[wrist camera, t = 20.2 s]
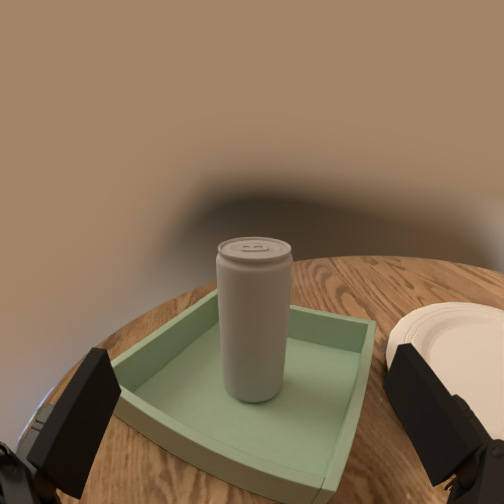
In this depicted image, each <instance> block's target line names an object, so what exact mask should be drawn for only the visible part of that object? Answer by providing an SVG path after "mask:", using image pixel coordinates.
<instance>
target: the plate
mask: <svg viewBox="0 0 504 504" xmlns="http://www.w3.org/2000/svg"><path fill="white" fill-rule="evenodd" d="M406 343H412V345H413V346H414V347H415V348H416V350H417V351H418V352H419V353H420V355H421V356H422V357H423V358H424V360H425V361H426V362H427V364H428V365H429V366H430V367H431V369H432V370H433V371H434V373H435V374H436V375H437V377H438V378H439V379H440V381H441V382H442V383H443V385H444V386H445V387H446V389H447V390H448V391H449V393H450V394H451V395H455V394H457V395H459V396H460V397H461V398H463V399H464V400H465V401H466V402H467V404H468V405H469V406H470V409H472V411H473V412H474V413H475V416H477V418H478V419H479V420H480V422H481V423H482V425H483V426H484V428H485V429H486V431H487V432H488V434H489V435H490V436H491V438H492V439H493V440H495V439H501V440H504V311H503V310H500V309H497V308H494V307H490V306H485V305H480V304H475V303H463V302H447V303H437V304H431V305H428V306H425V307H422V308H418V309H415V310H414V311H412V312H411V313H409V314H408V315H406V316H404V317H403V318H401V319H400V321H399V322H398V323H397V325H396V326H395V327H394V329H393V330H392V331H391V333H390V336H389V341H388V345H387V349H386V354H385V357H386V363H387V369H388V371H389V369H390V366H391V363H392V360H393V358H394V355H395V352H396V349H397V346H398V345H400V344H406Z"/></svg>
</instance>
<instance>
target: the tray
mask: <svg viewBox="0 0 504 504" xmlns="http://www.w3.org/2000/svg"><path fill="white" fill-rule="evenodd" d="M376 324H377V322H376V321H371V320H366V319H360V318H355V317H350V316H344V315H339V314H334V313H329V312H324V311H319V310H314V309H309V308H304V307H299V306H294V305H290V310H289V322H288V333H287V344H286V355H285V364H284V374H283V383H282V386H281V389H280V391H279V392H278V393H277V394H276V395H275V396H273V397H272V398H270V399H268V400H265V401H262V402H256V403H253V402H246V401H243V400H240V399H238V398H236V397H234V396H233V395H231V394H230V393H229V392H228V391H227V390H226V388H225V386H224V381H223V370H222V356H221V342H220V327H219V310H218V290H217V289H215V290H214V291H212V292H211V293H210V294H208V295H207V296H205V297H204V298H202V299H201V300H199V301H198V302H197V303H195V304H194V305H192V306H191V307H189V308H188V309H186V310H185V311H184V312H182V313H181V314H179V315H178V316H176V317H175V318H173V319H172V320H170V321H169V322H168V323H166V324H165V325H163V326H162V327H160V328H159V329H157V330H156V331H154V332H153V333H151V334H150V335H149V336H147V337H146V338H144V339H143V340H141V341H140V342H138V343H137V344H135V345H134V346H132V347H131V348H129V349H128V350H126V351H125V352H124V353H122V354H121V355H119V356H118V357H116V358H115V359H113V360H112V361H110V362H111V365H112V367H113V370H114V373H115V375H116V378H117V380H118V383H119V385H120V388H121V390H122V393H121V395H120V397H119V399H118V402H117V404H116V406H115V409H114V411H113V413H114V414H115V415H116V416H118V417H119V418H120V419H122V420H123V421H124V422H125V423H127V424H128V425H130V426H131V427H132V428H134V429H135V430H136V431H138V432H139V433H141V434H142V435H144V436H145V437H147V438H148V439H150V440H151V441H153V442H154V443H156V444H157V445H159V446H160V447H162V448H164V449H165V450H167V451H168V452H170V453H172V454H173V455H175V456H177V457H179V458H180V459H182V460H184V461H186V462H187V463H189V464H191V465H193V466H195V467H197V468H199V469H201V470H203V471H204V472H206V473H209V474H211V475H213V476H215V477H217V478H219V479H221V480H223V481H226V482H228V483H230V484H232V485H235V486H237V487H240V488H242V489H244V490H247V491H250V492H252V493H255V494H258V495H260V496H263V497H266V498H269V499H272V500H275V501H278V502H281V503H285V504H327V502H328V501H329V500H330V499H331V497H332V496H333V495H334V494H335V492H336V491H337V488H338V486H339V483H340V480H341V477H342V475H343V472H344V469H345V466H346V463H347V460H348V457H349V453H350V450H351V447H352V443H353V440H354V437H355V433H356V429H357V425H358V422H359V418H360V414H361V409H362V405H363V401H364V396H365V391H366V387H367V382H368V376H369V371H370V365H371V359H372V353H373V346H374V339H375V332H376Z"/></svg>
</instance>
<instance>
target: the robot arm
mask: <svg viewBox="0 0 504 504" xmlns="http://www.w3.org/2000/svg"><path fill="white" fill-rule="evenodd" d="M382 387H383V388H384V390H385V392H386V394H387V396H388V398H389V400H390V401H391V403H392V405H393V407H394V409H395V411H396V413H397V415H398V416H399V418H400V420H401V422H402V424H403V426H404V428H405V430H406V432H407V434H408V436H409V438H410V440H411V442H412V444H413V446H414V448H415V450H416V452H417V454H418V456H419V458H420V460H421V462H422V464H423V466H424V468H425V471H426V473H427V475H428V477H429V479H430V481H431V484H432V486H433V487H434V486H436V485H438V484H440V483H442V482H444V481H446V480H448V479H449V478H450V477H451V476H452V475H453V474H454V473H455V474H456V477H455V478H454V479H453V480H452V481H451V482H449V483H448V484H447V485H446V487H445V489H444V490H447V489H448V488H449V487H450V486H452V487H451V488H450V489H449V491H450V495H449V498H448V501H447V504H504V440H501V439H495V440H493V439H492V438H491V436H490V435H489V434H488V432H487V431H486V429H485V428H484V426H483V425H482V423H481V422H480V420H479V419H478V418H477V416H475V413H474V412H473V411H472V409H470V406H469V405H468V404H467V402H466V401H465V400H464V399H463V398H461V397H460V396H459V395H457V394H455V395H451V394H450V393H449V391H448V390H447V389H446V387H445V386H444V385H443V383H442V382H441V381H440V379H439V378H438V377H437V375H436V374H435V373H434V371H433V370H432V369H431V367H430V366H429V365H428V364H427V362H426V361H425V360H424V358H423V357H422V356H421V355H420V353H419V352H418V351H417V350H416V348H415V347H414V346H413V345H412V343H406V344H400V345H398V346H397V349H396V352H395V355H394V358H393V360H392V363H391V366H390V369H389V371H388V374H387V376H386V379H385V381H384V384H383V386H382ZM121 393H122V390H121V388H120V385H119V383H118V380H117V378H116V375H115V373H114V370H113V367H112V365H111V362H110V359H109V356H108V353H107V350H106V349H100V348H92V349H91V350H90V352H89V353H88V355H87V356H86V358H85V359H84V361H83V362H82V364H81V365H80V367H79V368H78V370H77V371H76V373H75V374H74V376H73V377H72V379H71V380H70V382H69V384H68V385H67V387H66V388H65V390H64V392H63V393H62V395H61V396H60V398H59V400H58V401H57V403H56V405H55V406H54V405H51V404H48V405H47V406H46V407H44V408H43V409H42V410H41V411H40V412H39V414H38V416H37V417H36V419H35V421H34V422H33V424H32V426H31V428H30V429H29V431H28V433H27V434H26V436H25V438H24V440H23V442H22V443H21V445H20V447H19V449H18V451H17V452H16V454H14V453H13V452H12V451H11V450H10V449H9V448H8V447H7V446H6V444H4V443H2V442H0V504H62V503H61V501H60V498H59V496H58V494H57V493H56V489H57V488H58V489H60V490H61V491H62V492H63V493H65V494H67V495H69V496H72V497H74V498H76V499H79V500H80V499H81V496H82V493H83V490H84V487H85V484H86V481H87V478H88V475H89V472H90V470H91V467H92V464H93V461H94V459H95V456H96V453H97V451H98V448H99V446H100V443H101V440H102V438H103V435H104V433H105V430H106V428H107V426H108V423H109V421H110V418H111V416H112V413H113V411H114V409H115V406H116V404H117V402H118V399H119V397H120V395H121Z"/></svg>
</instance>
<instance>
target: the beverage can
mask: <svg viewBox="0 0 504 504" xmlns="http://www.w3.org/2000/svg"><path fill="white" fill-rule="evenodd" d="M218 251H219V253H218V255H217V257H216V267H217V290H218V310H219V327H220V342H221V356H222V370H223V381H224V386H225V388H226V390H227V391H228V392H229V393H230V394H231V395H233V396H234V397H236V398H238V399H240V400H243V401H246V402H253V403H256V402H262V401H265V400H268V399H270V398H272V397H273V396H275V395H276V394H277V393H278V392H279V391H280V389H281V386H282V383H283V374H284V364H285V355H286V344H287V333H288V322H289V310H290V297H291V283H292V268H293V259H292V255H291V254H290V253H291V247H290V245H289V244H287V243H285V242H283V241H280V240H277V239H272V238H264V237H243V238H235V239H231V240H228V241H225V242H223V243H221V244H220V245H219V247H218Z"/></svg>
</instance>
